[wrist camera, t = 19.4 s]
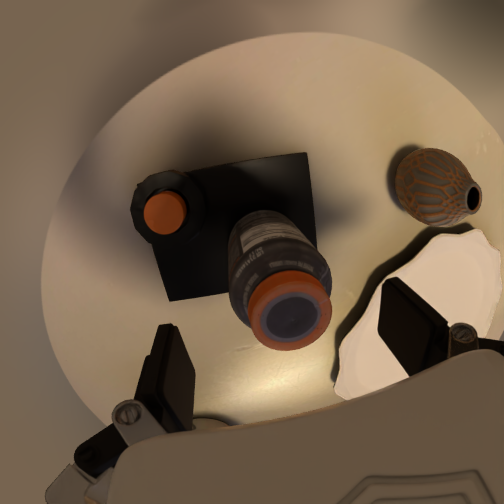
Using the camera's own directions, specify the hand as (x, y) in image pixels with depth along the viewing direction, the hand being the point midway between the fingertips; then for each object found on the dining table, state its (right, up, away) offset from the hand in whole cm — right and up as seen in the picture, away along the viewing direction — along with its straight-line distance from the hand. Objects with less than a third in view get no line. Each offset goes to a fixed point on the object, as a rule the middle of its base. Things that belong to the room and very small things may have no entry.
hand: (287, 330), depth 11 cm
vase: (+14, +10, +12) cm, 21 cm away
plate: (+22, -7, +19) cm, 30 cm away
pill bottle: (-1, +4, +12) cm, 12 cm away
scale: (-3, +5, +12) cm, 13 cm away
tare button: (-8, +7, +9) cm, 13 cm away
